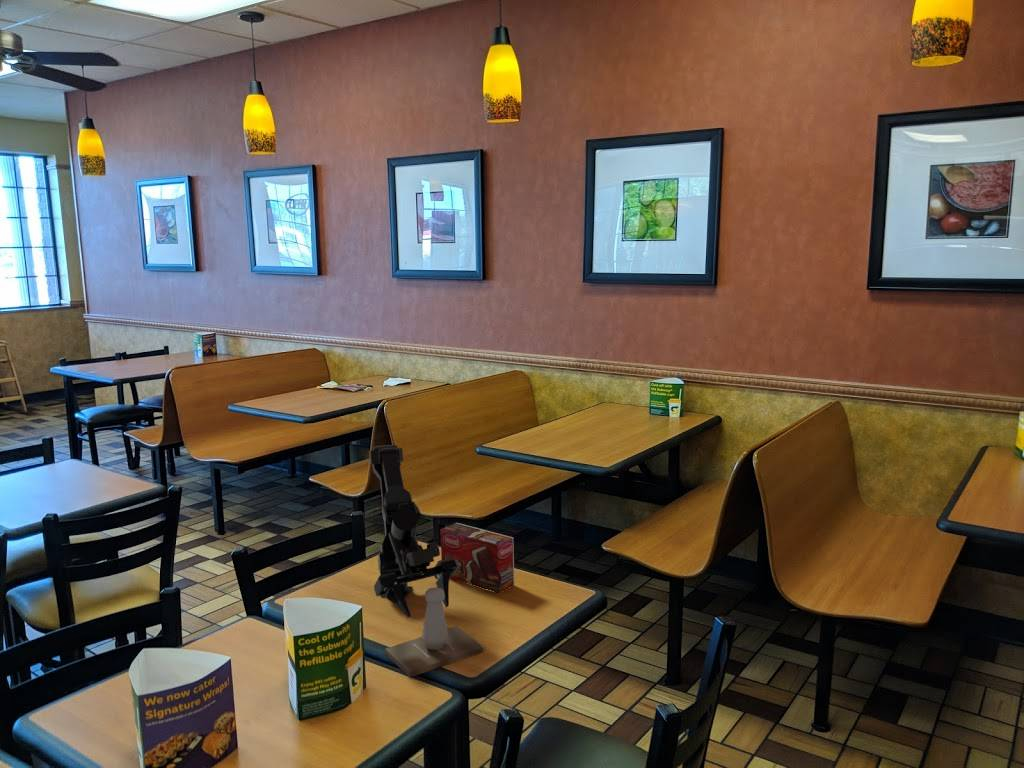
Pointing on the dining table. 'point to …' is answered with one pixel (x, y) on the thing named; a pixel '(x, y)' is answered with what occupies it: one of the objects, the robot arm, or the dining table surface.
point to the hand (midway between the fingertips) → (428, 611)
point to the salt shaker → (434, 620)
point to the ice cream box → (479, 556)
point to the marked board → (433, 652)
